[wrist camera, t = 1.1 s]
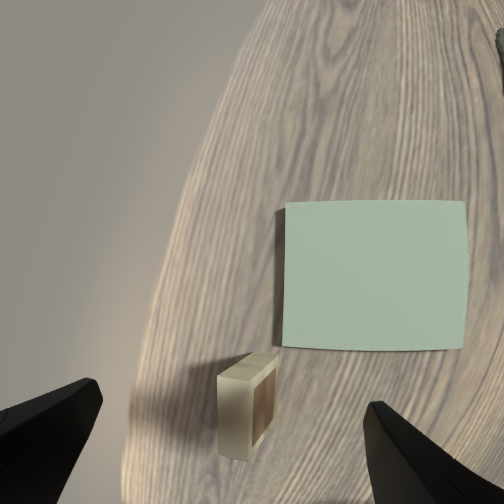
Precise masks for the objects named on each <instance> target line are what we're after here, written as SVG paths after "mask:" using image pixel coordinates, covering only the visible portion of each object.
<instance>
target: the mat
mask: <svg viewBox="0 0 504 504" xmlns="http://www.w3.org/2000/svg"><path fill="white" fill-rule="evenodd" d="M467 293H468V240H467V224H466V212H465V202H464V201H434V200H353V201H317V202H292V203H286V209H285V276H284V310H283V336H282V346H289V347H301V348H316V349H334V350H361V351H417V350H443V349H460V348H462V346H463V339H464V331H465V321H466V309H467Z"/></svg>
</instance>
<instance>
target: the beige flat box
mask: <svg viewBox="0 0 504 504" xmlns="http://www.w3.org/2000/svg"><path fill="white" fill-rule="evenodd" d="M278 358H279V355H276V354H266V353H258V352H253V353H251V354H250V355H248V356H247V357H245V358H244V359H242V360H241V361H239V362H238V363H236V364H235V365H233V366H231V367H230V368H228V369H227V370H225V371H224V372H222V373H221V374H219V375H217V417H218V455H222V456H225V457H229V458H233V459H237V460H241V461H245V462H247V461H248V460H249V459H250V457H251V456H252V455H253V453H254V452H255V450H256V449H257V448H258V446H259V445H260V443H261V442H262V441H263V439H264V438H265V436H266V435H267V433H268V432H269V431H270V429H271V428H272V426H273V425H274V423H275V412H276V396H277V378H278Z"/></svg>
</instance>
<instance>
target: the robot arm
mask: <svg viewBox="0 0 504 504" xmlns="http://www.w3.org/2000/svg"><path fill="white" fill-rule="evenodd" d="M102 402H103V397H102V394H101V391H100V389H99V386H98V383H97V382H96V380H94V379H91V378H83V379H81V380H78V381H76V382H73V383H71V384H69V385H66V386H64V387H61V388H59V389H56V390H54V391H51V392H49V393H46V394H44V395H41V396H39V397H36V398H34V399H31V400H28V401H26V402H23V403H21V404H18V405H15V406H12V407H10V408H7V409H4V410H2V411H0V504H57V502H58V500H59V497H60V495H61V493H62V491H63V489H64V487H65V484H66V482H67V480H68V478H69V476H70V474H71V472H72V470H73V468H74V466H75V464H76V462H77V460H78V457H79V456H80V454H81V452H82V450H83V448H84V446H85V444H86V442H87V440H88V438H89V436H90V433H91V431H92V428H93V426H94V423H95V421H96V418H97V416H98V413H99V410H100V408H101V405H102ZM363 429H364V438H365V448H366V459H367V466H368V472H369V476H370V481H371V486H372V490H373V495H374V500H375V504H504V489H502V488H500V487H498V486H496V485H494V484H493V483H491V482H489V481H487V480H485V479H484V478H482V477H480V476H479V475H477V474H475V473H474V472H472V471H471V470H469V469H468V468H467V467H465V466H464V465H462V464H461V463H460V462H458V461H457V460H456V459H453V457H452V456H451V455H449V454H448V453H447V452H445V451H444V450H443V449H442V448H440V447H439V446H438V445H437V444H435V443H434V442H433V441H432V440H430V439H429V438H428V437H427V436H425V435H424V434H423V433H422V432H420V431H419V430H418V429H417V428H415V427H414V426H413V425H412V424H410V423H409V422H408V421H407V420H405V419H404V418H403V417H402V416H401V415H399V414H398V413H397V412H396V411H394V410H393V409H392V408H391V407H390V406H388V405H387V404H386V403H385V402H384V401H372V402H370V403H369V404H368V407H367V410H366V414H365V417H364V420H363Z"/></svg>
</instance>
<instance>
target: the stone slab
mask: <svg viewBox="0 0 504 504" xmlns="http://www.w3.org/2000/svg"><path fill="white" fill-rule="evenodd" d="M496 37H497V38H496V40H495V41H496V43H497V48H498V49H499V52H500V54H501V57H502V61H503V63H504V28H500V29H499V30H498V31H497V34H496Z"/></svg>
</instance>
